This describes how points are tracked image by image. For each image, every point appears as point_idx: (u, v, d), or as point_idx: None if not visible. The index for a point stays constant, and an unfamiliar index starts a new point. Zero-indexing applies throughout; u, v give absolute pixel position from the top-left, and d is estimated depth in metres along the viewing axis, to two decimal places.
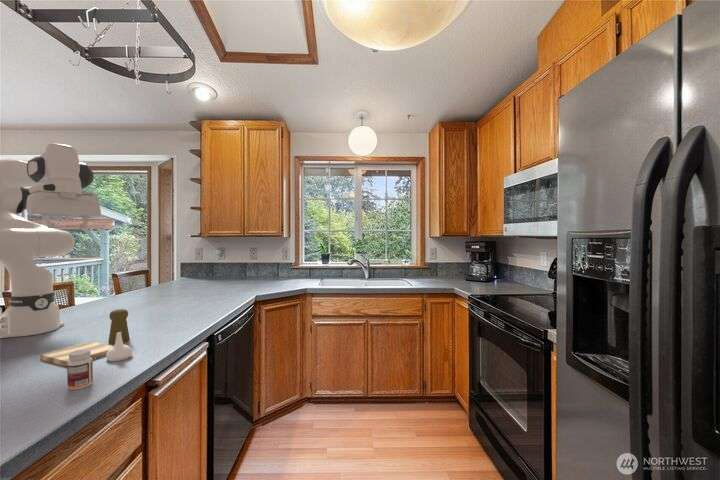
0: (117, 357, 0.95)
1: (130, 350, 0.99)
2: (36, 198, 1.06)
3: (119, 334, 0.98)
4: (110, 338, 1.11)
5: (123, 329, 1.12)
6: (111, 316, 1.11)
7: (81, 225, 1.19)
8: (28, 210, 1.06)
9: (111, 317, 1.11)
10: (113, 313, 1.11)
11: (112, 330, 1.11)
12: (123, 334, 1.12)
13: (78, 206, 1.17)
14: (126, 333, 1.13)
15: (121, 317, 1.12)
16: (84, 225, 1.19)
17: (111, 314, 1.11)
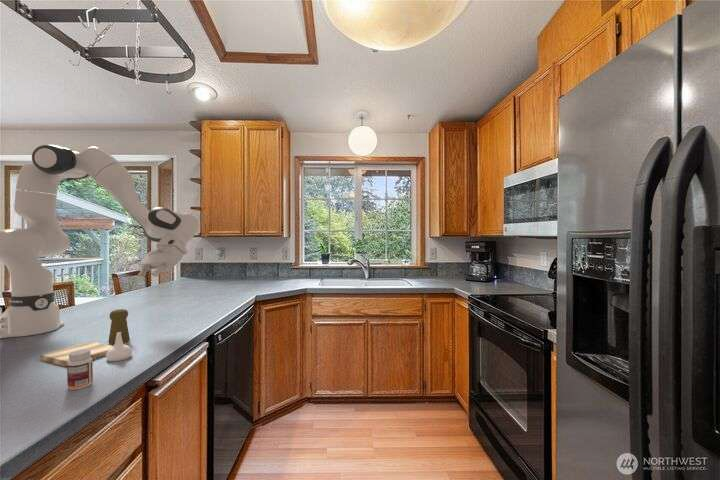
0: (117, 357, 0.95)
1: (130, 350, 0.99)
2: None
3: (119, 334, 0.98)
4: (110, 338, 1.11)
5: (123, 329, 1.12)
6: (111, 316, 1.11)
7: (143, 274, 1.25)
8: (171, 261, 1.20)
9: (111, 317, 1.11)
10: (113, 313, 1.11)
11: (112, 330, 1.11)
12: (123, 334, 1.12)
13: None
14: (126, 333, 1.13)
15: (121, 317, 1.12)
16: None
17: (111, 314, 1.11)
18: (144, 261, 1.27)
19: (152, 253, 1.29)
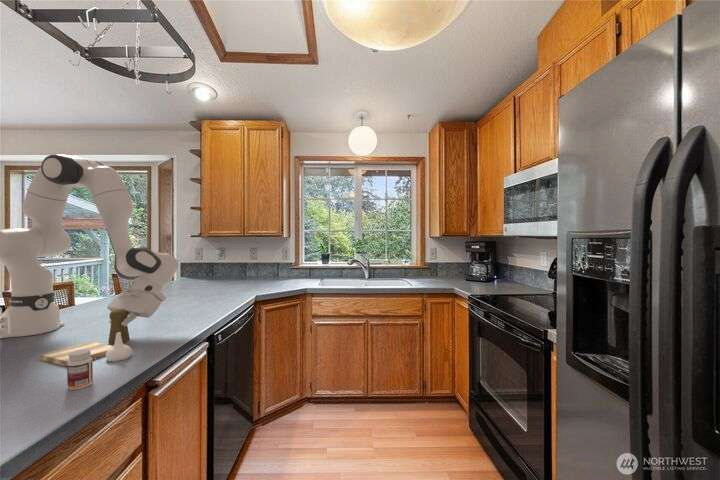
0: (116, 357, 0.95)
1: (130, 350, 0.99)
2: None
3: (119, 334, 0.98)
4: (110, 338, 1.11)
5: (123, 329, 1.12)
6: (111, 316, 1.11)
7: None
8: (147, 311, 1.12)
9: (111, 317, 1.11)
10: (113, 313, 1.11)
11: (112, 330, 1.11)
12: (123, 334, 1.12)
13: None
14: (126, 333, 1.13)
15: (121, 317, 1.12)
16: None
17: (111, 314, 1.11)
18: (113, 305, 1.18)
19: (124, 296, 1.20)
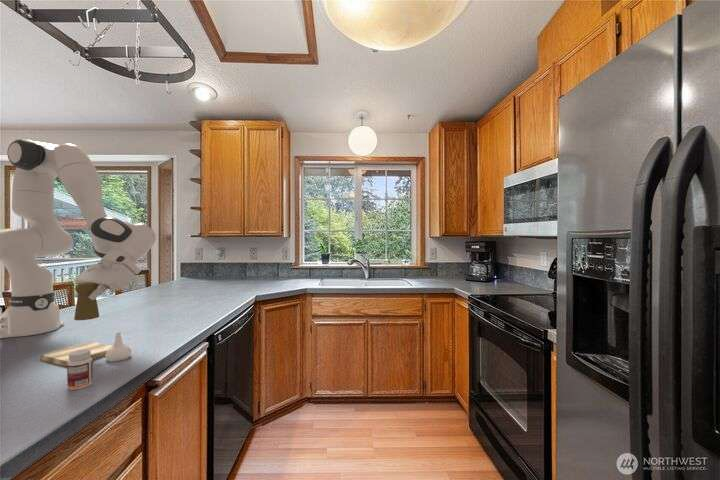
0: (116, 357, 0.95)
1: (129, 350, 0.99)
2: None
3: (118, 334, 0.98)
4: (76, 313, 0.99)
5: (90, 304, 1.01)
6: (77, 289, 0.99)
7: None
8: (118, 283, 1.01)
9: (77, 290, 0.99)
10: (79, 286, 0.99)
11: (78, 305, 0.99)
12: (91, 309, 1.01)
13: None
14: (94, 308, 1.02)
15: (89, 290, 1.00)
16: None
17: (77, 287, 0.99)
18: (81, 278, 1.06)
19: (94, 268, 1.09)
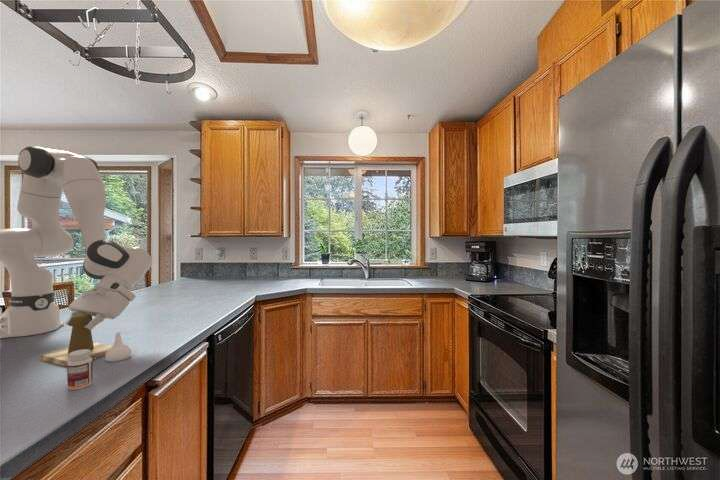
0: (116, 357, 0.95)
1: (129, 350, 0.99)
2: None
3: (118, 334, 0.98)
4: (70, 347, 0.98)
5: (85, 337, 0.99)
6: (71, 322, 0.98)
7: None
8: (112, 312, 0.99)
9: (71, 323, 0.98)
10: (74, 318, 0.98)
11: (72, 338, 0.98)
12: (85, 342, 0.99)
13: None
14: (89, 341, 1.00)
15: (83, 323, 0.98)
16: None
17: (72, 319, 0.98)
18: (76, 305, 1.04)
19: (88, 294, 1.07)
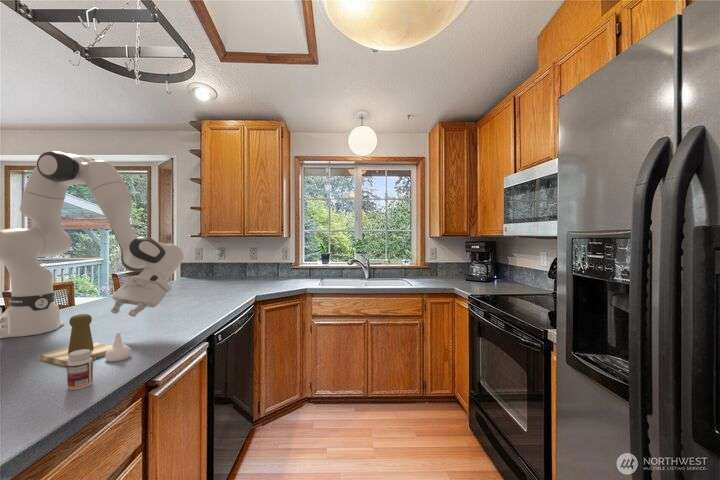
0: (116, 357, 0.95)
1: (129, 350, 0.99)
2: None
3: (118, 334, 0.98)
4: (70, 347, 0.98)
5: (84, 337, 0.99)
6: (71, 322, 0.97)
7: (117, 310, 1.14)
8: (153, 301, 1.11)
9: (71, 323, 0.98)
10: (73, 319, 0.98)
11: (72, 338, 0.98)
12: (85, 342, 0.99)
13: None
14: (89, 341, 1.00)
15: (83, 323, 0.98)
16: None
17: (71, 320, 0.98)
18: (118, 295, 1.17)
19: (129, 286, 1.19)
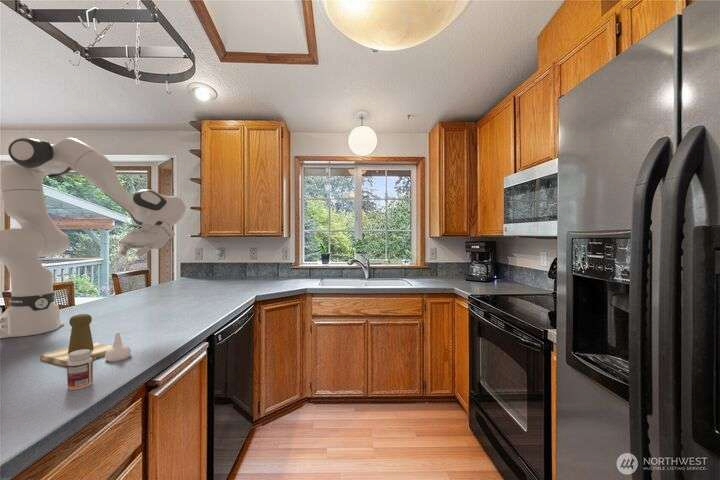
0: (116, 357, 0.95)
1: (129, 350, 0.99)
2: None
3: (118, 334, 0.98)
4: (70, 347, 0.98)
5: (84, 337, 0.99)
6: (71, 322, 0.97)
7: (125, 252, 1.23)
8: (158, 242, 1.20)
9: (71, 323, 0.98)
10: (73, 319, 0.98)
11: (72, 338, 0.98)
12: (85, 342, 0.99)
13: None
14: (89, 341, 1.00)
15: (83, 323, 0.98)
16: None
17: (71, 320, 0.98)
18: (126, 239, 1.25)
19: (135, 232, 1.28)
